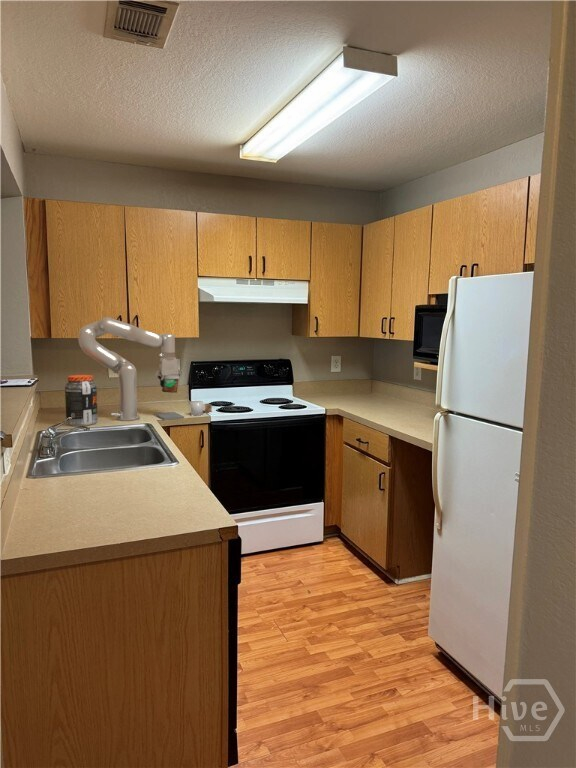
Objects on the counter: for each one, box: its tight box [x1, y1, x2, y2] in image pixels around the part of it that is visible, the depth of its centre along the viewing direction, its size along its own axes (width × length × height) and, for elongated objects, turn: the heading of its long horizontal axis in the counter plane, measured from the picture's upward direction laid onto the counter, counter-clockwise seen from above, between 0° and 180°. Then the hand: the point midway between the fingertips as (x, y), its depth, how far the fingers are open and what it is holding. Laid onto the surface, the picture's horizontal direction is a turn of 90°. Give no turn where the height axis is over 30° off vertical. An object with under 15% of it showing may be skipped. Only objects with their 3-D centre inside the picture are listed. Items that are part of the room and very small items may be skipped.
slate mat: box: [153, 411, 185, 421], centre depth 298 cm, size 12×16×1 cm
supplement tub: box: [64, 374, 99, 427], centre depth 273 cm, size 16×16×26 cm
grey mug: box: [190, 400, 206, 417], centre depth 304 cm, size 8×7×8 cm
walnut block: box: [203, 403, 213, 414], centre depth 312 cm, size 5×5×5 cm
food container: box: [161, 375, 180, 394], centre depth 294 cm, size 12×6×10 cm, turn 59°
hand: (168, 386), depth 295 cm, fingers closed on food container, 6 cm apart
